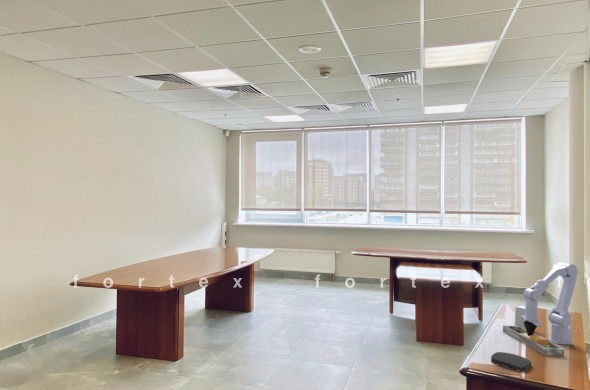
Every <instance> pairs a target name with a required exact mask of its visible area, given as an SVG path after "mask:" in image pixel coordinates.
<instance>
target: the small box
mask: <svg viewBox="0 0 590 390" xmlns="http://www.w3.org/2000/svg"><path fill="white" fill-rule="evenodd" d="M514 314H515V315H514V326H520V327H522V328H524V329H526V327H525V325H524V323H523V322H526V320H523V319H521V315H525V305H519V306H515V313H514Z"/></svg>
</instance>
